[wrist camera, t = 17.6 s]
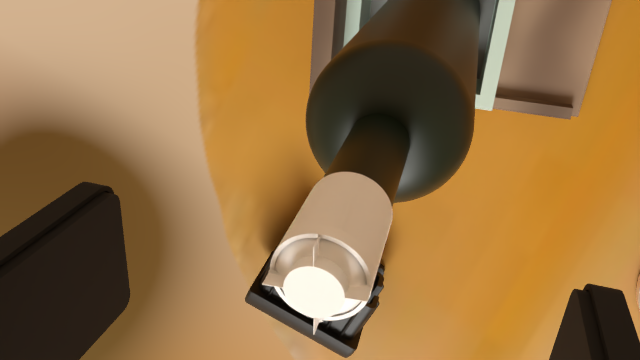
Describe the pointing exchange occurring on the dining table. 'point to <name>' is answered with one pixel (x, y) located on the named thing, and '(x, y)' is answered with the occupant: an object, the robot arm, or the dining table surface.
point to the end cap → (328, 333)
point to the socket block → (492, 44)
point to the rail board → (512, 52)
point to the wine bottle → (378, 147)
